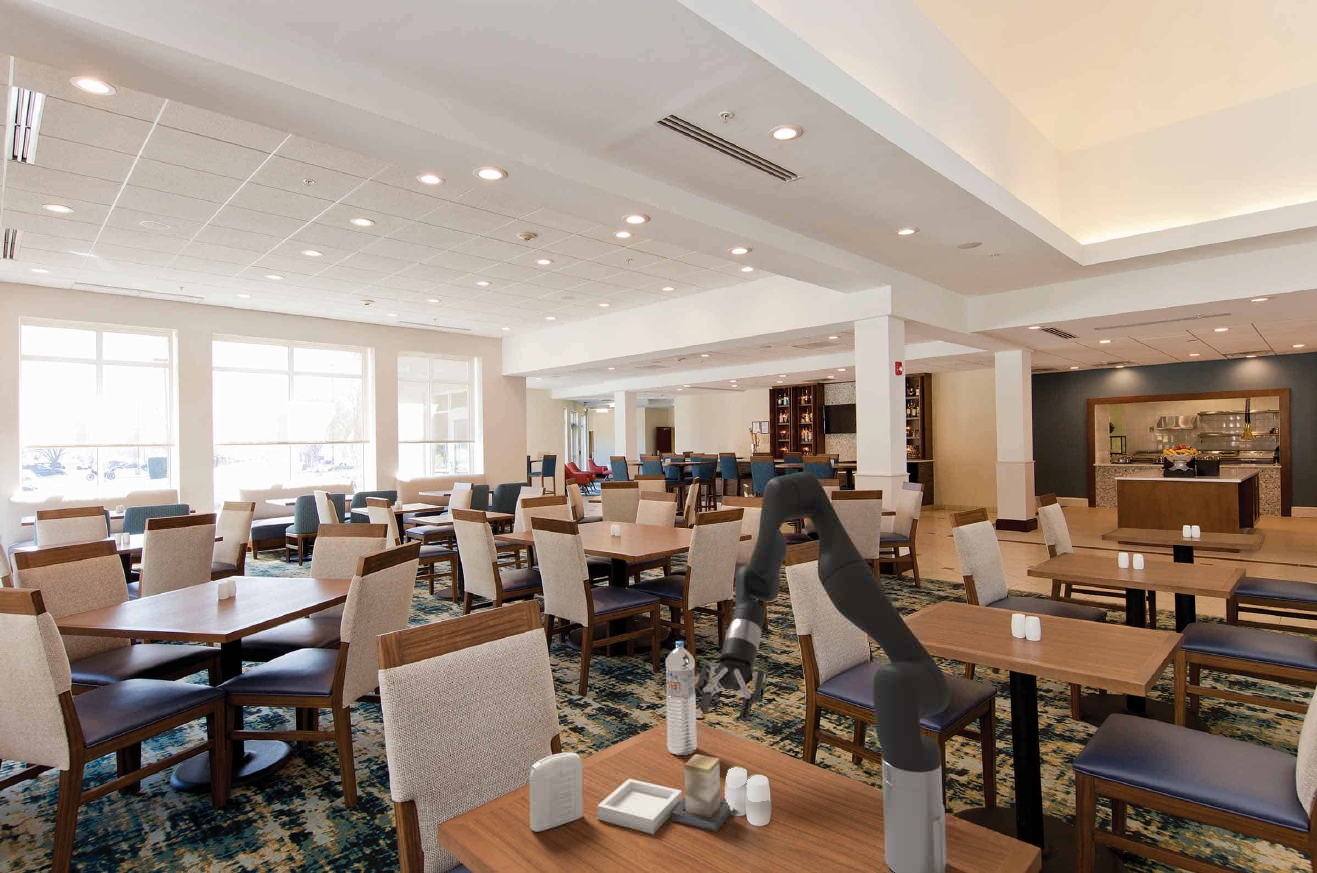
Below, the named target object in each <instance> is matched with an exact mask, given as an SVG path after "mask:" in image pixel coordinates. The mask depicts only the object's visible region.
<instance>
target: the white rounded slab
mask: <svg viewBox="0 0 1317 873" xmlns="http://www.w3.org/2000/svg"><path fill="white" fill-rule="evenodd" d="M583 811H584V810H583V764H582V758H581V756H580V755H579V754H578V753H575V752H560V753H556V754H551V755H548V756H546V757H544V758H542V759H540V760H538V761H537V762H535V763H534V764H532V765H531V766H530V769H529V820H530V821H529V822H530V824H529V825H530V829H531V831H533V832H536V833H537V832H543V831H546V830H549V829H552V828H556V827H559V826H562V825H565V824H567V823H571V822H574V821H577V820H580V819H581V818H582V817H583Z"/></svg>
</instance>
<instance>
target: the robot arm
mask: <svg viewBox="0 0 1317 873" xmlns="http://www.w3.org/2000/svg"><path fill="white" fill-rule="evenodd" d="M802 518H809V519H810V521H811V522H812V524H813V526H814V527H815V530H816V532H817V535H818V540H819V541H818V542H819V546H818V557H817V575H818V579H819V581H820V583H821V586H822V587H823V589H824V590H825V592H826V594H827V596H828V598H829V599H830V601H831V603H832V605H833V606H834V608H835V609H836V610H837V611H838V612H839V613H840V614H841V616H843V617H844V618H845V619H846V620H847V621H849V622H850V623H851V624H853V625H854V626H856V628H858V629H860V630H861V631H862V632H863V633H865V634H866V635H867V636H869V637H870V639H872V640H873V641H874V642H875V643H876V644H877V645H878V646H879V647H880V648H881V650H882V651H883V652H884V654H885V655H886V656H887V658H888V659H889V662H890V663H887V664H884V665H882V666H880V667H879V668H878V669H877V670H876V672H875V674H874V677H873V683H872V698H873V709H874V710H873V711H874V712H873V713H874V721H875V730H876V731H875V732H876V737H877V740H878V743H879V746H880V749H881V768H882V769H881V770H882V772H881V774H882V798H883V799H882V800H883V801H882V802H883V803H882V804H883V831H884V832H883V833H884V859H885V860H884V861H885V864H887V865H888V866H887V865H886V866H887V868H888V867H889V868H890V869H891V870H892V871H893V872H892V871H891V870H890V869H889V868H888V869H889V870H890V871H891V872H892V873H894V872H895V873H946V869H947V843H946V840H947V839H946V837H947V836H946V815H945V814H946V813H945V812H946V811H945V810H946V809H945V805H944V804H943V802H944V801H943V781H942V780H943V779H942V752H941V747H940V745H939V744H938V742H937V741H935V740H934V739H932V738H930V737H928V736H927V735H923V734H922V731H921V730H922V728H921V719H923V718H925V719H926V718H927V717H930V716H934V715H937V714H939V713H942V712H944V711H945V710H947V708H948V706H949V703H950V700H951V699H950V698H951V694H950V687H949V684H948V681H947V679H946V676H945V675H944V673H943V671H942V669H941V668H940V666H939V665H938V663H937V662H936V660H934V658H933V657H932V656H931V654H930V653H929V652H928V650H927V649H926V648H925V647H924V646H923V644H922V643H921V642H920V640H919V639H918V638H917V636H916V635H915V634H914V633H913V631H912V630H911V628H910V627H909V626H908V625H907V623H906V622H905V621H904V619H903V618H902V616H901V615H900V613H899V612H898V610H897V609H896V607H895V606H894V605H893V604H894V603H893V602H892V601H891V600H890V598H889V596H888V595H887V594H886V592H885V591H884V589H883V588H882V586H881V584H880V582H879V581H878V579H877V577H876V576H875V573H874V572H873V570H872V569H871V568H870V566H869V564H868V562H867V561H866V560H865V559H864V557H863V556H862V554H861V553H860V551H859V549H858V548H857V547H856V545H855V543H854V542H853V539H851V537H850V535H849V534H848V532H847V531H846V528H845V527H844V525H843V524H842V522H841V519H840V517H839V516H838V514H837V512H836V510H835V509H834V507H833V504H832V503H831V500H830V498H829V496H828V495H827V492H826V490H825V489H824V486H822V483H821V482H820V480H819V479H818V478H817V477H816V476H815V474H813V473H812V472H810V471H799V472H793V473H789V474H785V475H779V476H775V477H772V478H771V479H770V480H768V481H767V483H766V485H765V488H764V490H763V496H762V502H761V510H760V517H759V527H758V529H759V530H758V536H757V540H756V543H755V544H754V545H755V546H754V547H753V551H752V554H751V557H750V559H749V560H750V561H749V564H745V565H744V564H743V565H742V566H741V567H739V568H738V570H737V571H736V574H735V578H734V579H735V581H734V583H735V587H734V588H735V606H734V611H733V614H732V618H731V621H730V624H729V626H728V628H727V632H726V635H725V637H724V638H725V639H724V642H723V645H722V649H721V653H720V655H719V656H720V657H719V661H718V664H717V665H716V666H713V665H710V664H709V663H708V662H704V664H703V665H702V669H701V671H700V673H699V676H698V679H697V682H696V685H695V688H696V689H697V690H698V692H699V693H700V694H701V695H702V696H701V700H700V701H699V702H700V703H699V709H700V711H701V713H702V714H703V715H708V712H709V708H710V706H711V702H712V697H713V696H714V695H715V694H716V693H719V692H720V691H721V690H727V691H729V690H732V691H734V692H739V691H740V690H741V691H742V693H743V695H744V698H743V700H742V704H741V706H740V711H739V719H740V720H741V721H743V722H746V720H747V719H749V717H750V714H751V711H752V706H753V704H754V703H759V704H760V703H763V701H764V694H765V687H766V683H767V676H766V674H765V672H764V671H763V670H761V669H760V670H758V671H754V667H755V665H756V659H757V656H758V651H759V648H760V642H761V635H762V631H763V630H762V629H763V625H764V621H765V619H766V618H765V617H766V609H765V607H764V606H763V605H762V604H761V603H760V602H758V601H761V602H764V603H765V602H766V603H768V602H769V603H770V602H772V601H774V600H776V598H777V597H778V595H779V593H780V588H781V580H780V579H781V578H780V572H781V568H782V566H783V563H784V560H785V559H786V555H787V551H788V545H787V541H786V538H785V536H784V534H783V533H782V531H781V530H780V528H781V527H782V526H783V524H784V523H785V522H787V521H793V520H797V519H802ZM755 599H756V600H758V601H756V600H755ZM714 674H716V675H715V676H714V677H713V675H714ZM712 677H713V678H712ZM710 678H712V679H710ZM752 680H754V681H755V686H754V692H753V693H751V692H750V690H749V688H748V684H749V683H750V682H751V681H752ZM945 868H946V869H945Z"/></svg>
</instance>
